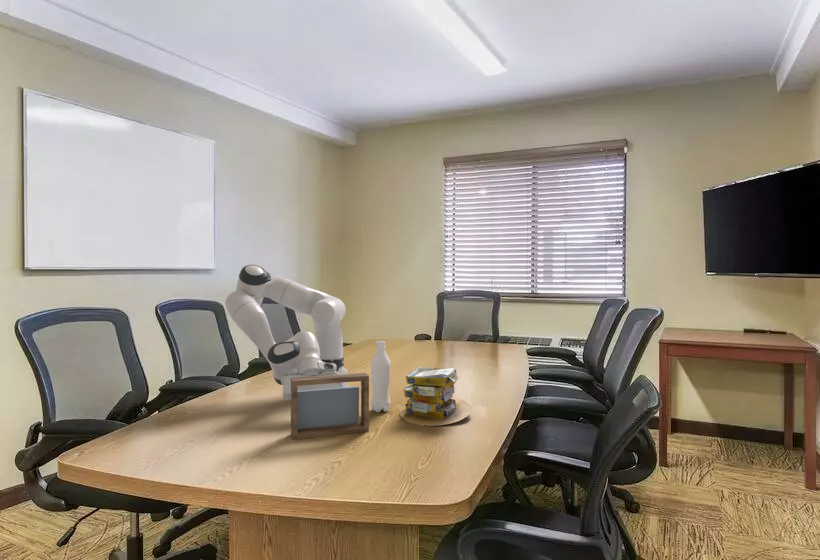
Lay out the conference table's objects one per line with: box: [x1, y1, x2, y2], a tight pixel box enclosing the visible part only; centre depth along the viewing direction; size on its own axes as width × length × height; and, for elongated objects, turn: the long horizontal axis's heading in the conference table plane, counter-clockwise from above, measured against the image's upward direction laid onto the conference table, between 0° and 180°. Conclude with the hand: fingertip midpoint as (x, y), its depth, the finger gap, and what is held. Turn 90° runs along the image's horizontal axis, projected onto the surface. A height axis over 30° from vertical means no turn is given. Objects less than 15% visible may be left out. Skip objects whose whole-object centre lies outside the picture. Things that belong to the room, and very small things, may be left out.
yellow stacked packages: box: [399, 366, 472, 427], centre depth 176 cm, size 25×25×17 cm
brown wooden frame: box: [290, 372, 370, 440], centre depth 156 cm, size 4×24×18 cm, turn 110°
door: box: [297, 385, 360, 429], centre depth 159 cm, size 2×20×12 cm, turn 110°
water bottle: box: [370, 340, 391, 413], centre depth 181 cm, size 7×7×25 cm
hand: (315, 406), depth 166 cm, fingers closed
